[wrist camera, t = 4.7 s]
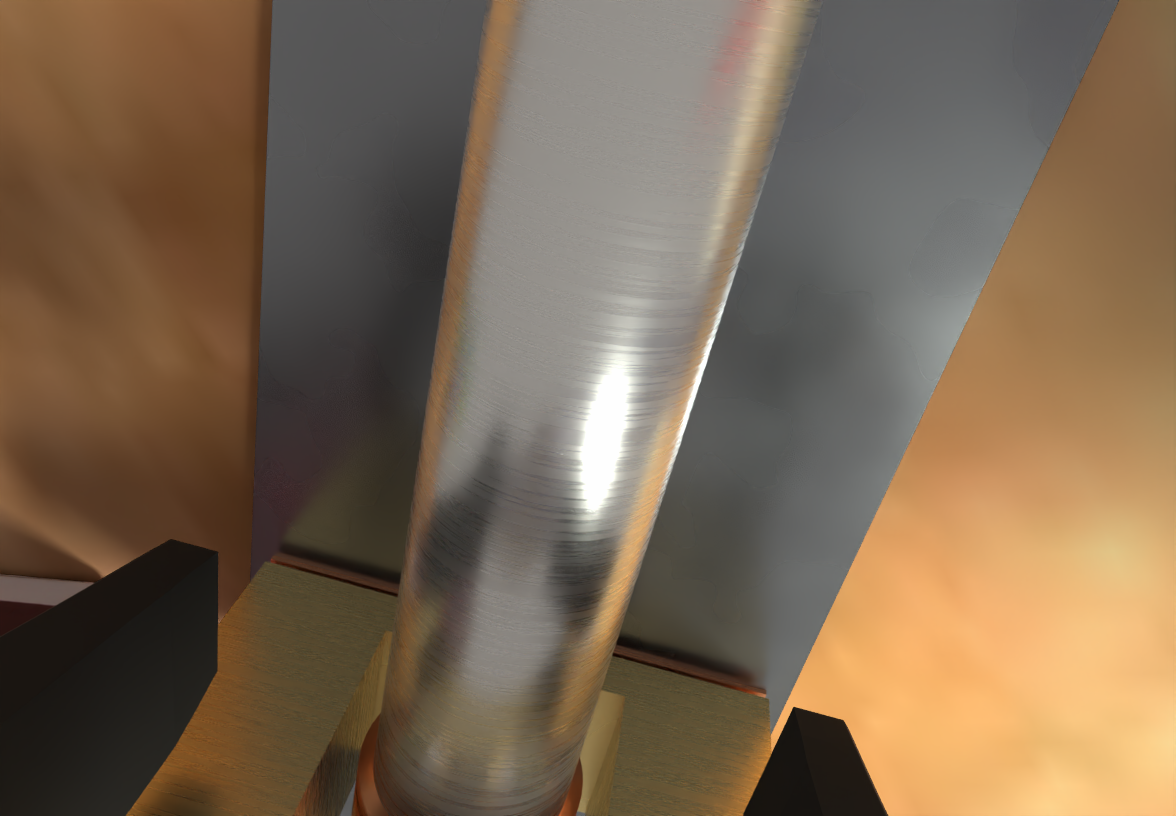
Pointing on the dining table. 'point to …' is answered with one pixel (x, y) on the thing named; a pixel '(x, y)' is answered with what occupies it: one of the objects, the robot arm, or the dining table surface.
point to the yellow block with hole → (353, 701)
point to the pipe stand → (615, 333)
